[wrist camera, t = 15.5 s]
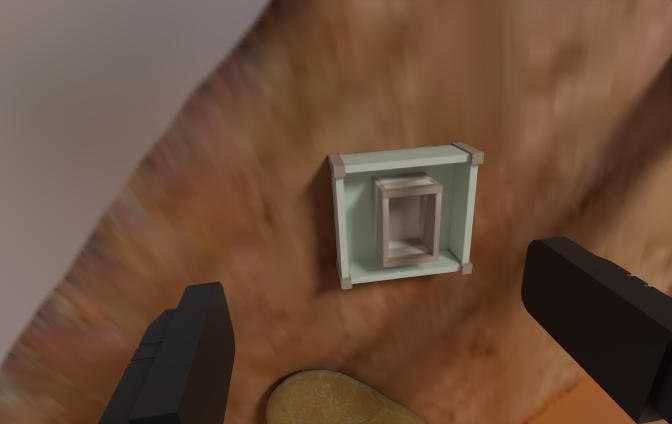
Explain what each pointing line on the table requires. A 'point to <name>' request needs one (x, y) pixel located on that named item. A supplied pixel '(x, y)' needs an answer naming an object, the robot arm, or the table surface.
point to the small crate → (406, 218)
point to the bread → (332, 402)
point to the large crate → (357, 218)
